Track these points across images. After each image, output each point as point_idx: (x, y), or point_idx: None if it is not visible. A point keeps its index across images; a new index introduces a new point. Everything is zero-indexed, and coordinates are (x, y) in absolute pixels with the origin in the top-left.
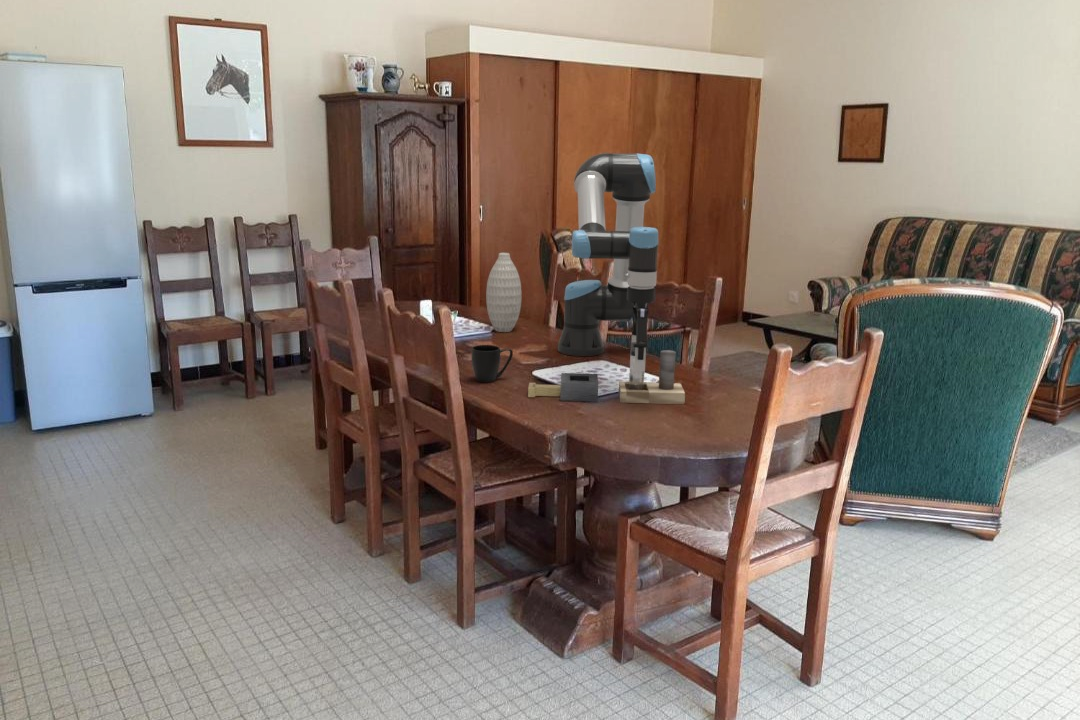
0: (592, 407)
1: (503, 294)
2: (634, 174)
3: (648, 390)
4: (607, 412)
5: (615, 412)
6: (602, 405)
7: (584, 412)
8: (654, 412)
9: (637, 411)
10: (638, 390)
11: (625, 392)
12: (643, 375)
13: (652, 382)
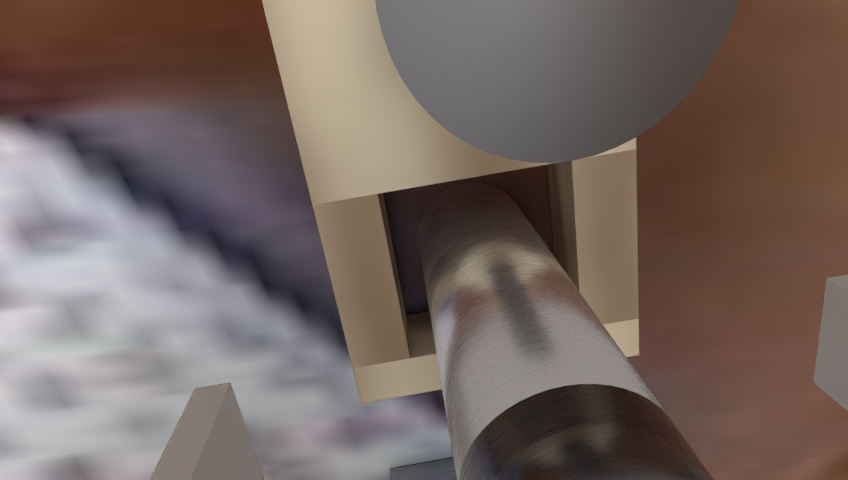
0: (722, 436)
1: None
2: None
3: (576, 160)
4: (816, 352)
5: (816, 312)
6: (679, 396)
7: (814, 455)
8: (819, 68)
9: (796, 187)
10: (589, 239)
11: (637, 322)
12: (543, 258)
13: (299, 147)
